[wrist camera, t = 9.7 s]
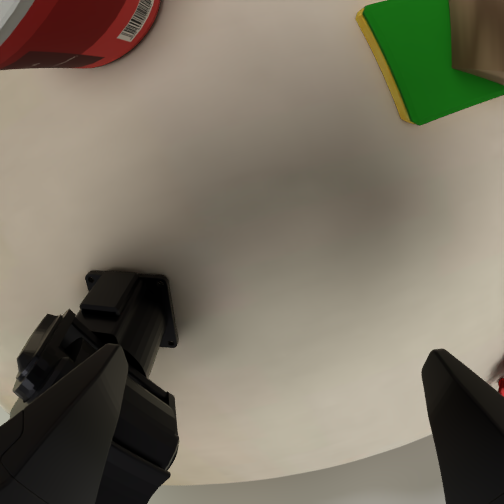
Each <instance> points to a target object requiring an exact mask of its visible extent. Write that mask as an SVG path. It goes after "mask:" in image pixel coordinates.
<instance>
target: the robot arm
mask: <svg viewBox="0 0 504 504" xmlns="http://www.w3.org/2000/svg"><path fill="white" fill-rule="evenodd" d="M91 277H92V278H93V279H94V280H92V279H91ZM85 280H86V283H87V287H88V290H89V293H88V294H87V296H86V297H85V299H84V300H83V301H82V303H81V304H80V306H79V307H80V311H79V312H78V314H77V315H75V314H74V313H73V312H72V311H71V310H70V309H68V310H67V311H66V312H65V313H64V314H63V315H59V316H54V315H50V314H47V315H46V316H45V317H44V319H43V320H42V321H41V323H40V324H39V325H38V327H37V328H36V329H35V331H34V332H33V333H32V335H31V336H30V338H29V339H28V341H27V343H26V344H25V346H24V348H23V349H22V351H21V353H20V354H19V356H18V358H17V363H18V370H19V372H18V374H17V377H16V379H17V380H16V383H15V385H14V388H13V392H14V393H15V394H16V395H17V396H18V397H19V398H18V400H17V401H16V403H15V405H14V406H13V408H12V410H11V412H10V419H9V420H8V421H7V422H6V423H4V424H3V425H1V426H0V504H147V503H148V501H149V499H150V498H151V496H152V495H153V494H154V493H155V491H156V490H157V489H158V487H159V486H161V485H162V484H163V483H164V482H165V481H166V480H167V479H168V478H169V477H170V475H171V474H170V472H168V471H167V470H168V469H169V468H170V466H171V465H172V463H173V461H174V460H175V457H176V454H177V451H178V444H179V436H178V431H177V421H176V410H175V397H174V396H173V395H172V394H170V393H169V392H165V391H164V390H163V389H161V388H160V387H158V386H157V385H156V384H154V383H153V382H152V381H150V380H149V379H148V378H149V375H150V372H151V369H152V366H153V363H154V360H155V357H156V355H157V352H158V349H159V347H168V348H175V347H176V346H177V344H178V336H177V331H176V325H175V319H174V313H173V307H172V300H171V294H170V287H169V281H168V279H167V278H166V277H165V276H163V275H150V274H137V273H133V272H114V271H105V272H96V271H90V272H88V274H87V275H86V277H85ZM158 281H161V282H162V283H163V284H160V283H159V282H158ZM75 316H76V317H75ZM171 341H172V342H171ZM422 381H423V386H424V392H425V398H426V405H427V412H428V417H429V422H430V426H431V430H432V434H433V438H434V443H435V447H436V451H437V456H438V461H439V466H440V471H441V476H442V482H443V487H444V493H445V500H446V504H504V397H503V396H502V395H501V394H500V393H499V392H497V391H496V390H495V389H494V388H493V387H491V386H490V385H489V384H488V383H486V382H485V381H484V380H483V379H482V378H480V377H479V376H478V375H477V374H475V373H474V372H473V371H472V370H470V369H469V368H468V367H467V366H465V365H464V364H463V363H462V362H460V361H459V360H458V359H457V358H455V357H454V356H453V355H451V354H450V353H449V352H448V351H446V350H445V349H434V350H432V351H431V352H430V354H429V356H428V358H427V360H426V362H425V364H424V366H423V368H422Z"/></svg>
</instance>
